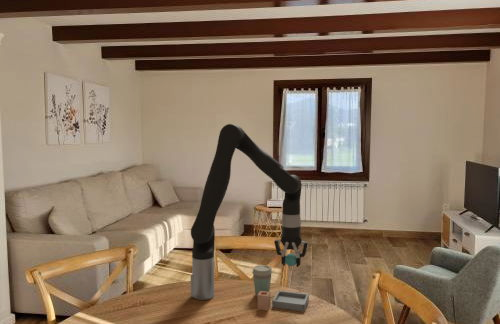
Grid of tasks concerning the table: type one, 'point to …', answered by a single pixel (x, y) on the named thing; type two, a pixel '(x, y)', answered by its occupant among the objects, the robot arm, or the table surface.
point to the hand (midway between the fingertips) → (291, 265)
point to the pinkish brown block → (264, 300)
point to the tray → (290, 300)
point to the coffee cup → (262, 278)
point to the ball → (290, 259)
